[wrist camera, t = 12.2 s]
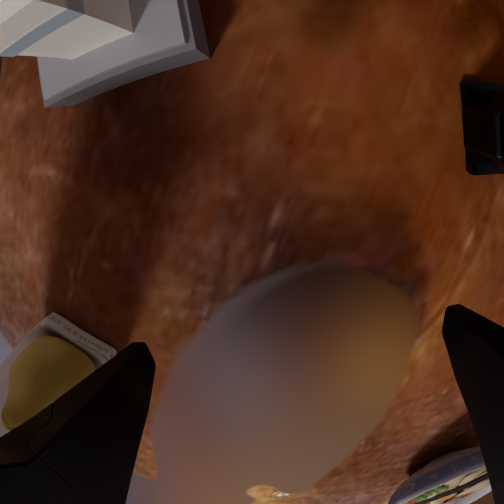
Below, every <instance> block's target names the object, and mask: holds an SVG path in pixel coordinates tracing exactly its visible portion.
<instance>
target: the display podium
mask: <svg viewBox="0 0 504 504" xmlns="http://www.w3.org/2000/svg"><path fill="white" fill-rule="evenodd" d="M129 6H130V13H131V20H132V27H133V33H132V34H130V35H127V36H124V37H122V38H119V39H117V40H115V41H112V42H110V43H107V44H105V45H103V46H100V47H98V48H96V49H94V50H92V51H89V52H87V53H85V54H83V55H81V56H79V57H77V58H75V59H73V60H72V59H62V58H52V57H39V56H37V62H38V70H39V77H40V83H41V90H42V96H43V101H44V107H45V108H49V107H57V106H67V105H76V104H78V103H81V102H83V101H85V100H88V99H90V98H92V97H95V96H97V95H99V94H102V93H104V92H107V91H109V90H112V89H114V88H117V87H120V86H122V85H125V84H128V83H131V82H133V81H136V80H139V79H142V78H145V77H148V76H151V75H154V74H157V73H160V72H164V71H167V70H170V69H174V68H177V67H181V66H184V65H188V64H192V63H195V62H199V61H203V60H207V59H211V58H210V53H209V48H208V43H207V38H206V34H205V29H204V24H203V19H202V14H201V9H200V4H199V0H129Z"/></svg>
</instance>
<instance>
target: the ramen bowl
mask: <svg viewBox="0 0 504 504" xmlns="http://www.w3.org/2000/svg"><path fill="white" fill-rule="evenodd" d="M490 491H492V489H491V485H490V481H489V478H488V474H487V470H486V466H485V463H484V459H483V456H482V453H481V449H480V446H477V447H472V448H467V449H463V450H459V451H452V452H449V453H446V454H444V455H441V456H439V457H437V458H435V459H434V460H432V461H431V462H429V463H428V464H427V465H425V466H424V467H423V468H421V469H420V470H418V471H417V472H415V473H414V474H412V475H411V476H410V477H409V478H408V479H407V480H405V481H404V482H403V483H402V484H401V485H400V486H399V487H398V488H397V489H396V491H395V492H394V494H393V495H392V497H391V499H390V501H389V502H388V504H470V503H472V502H473V501H475V500H477V499H479V498H480V497H482V496H484V495H485V494H487V493H489V492H490Z"/></svg>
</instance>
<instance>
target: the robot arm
mask: <svg viewBox="0 0 504 504" xmlns="http://www.w3.org/2000/svg"><path fill="white" fill-rule="evenodd" d="M466 85H467V86H468V87H469V90H468V91H467V90H466ZM460 91H461V99H462V108H463V110H462V120H463V133H464V146H465V150H466V170H467V172H468V173H469V174H472V175H486V174H504V85H503V84H495V83H486V82H476V81H463V82H461V84H460ZM472 165H474V169H473V170H472ZM442 335H443V339H444V342H445V345H446V348H447V351H448V355H449V358H450V362H451V365H452V369H453V372H454V375H455V378H456V381H457V384H458V386H459V389H460V391H461V394H462V397H463V399H464V402H465V405H466V407H467V410H468V413H469V416H470V419H471V421H472V424H473V427H474V430H475V433H476V436H477V440H478V443H479V446H480V449H481V453H482V456H483V459H484V463H485V466H486V470H487V474H488V478H489V481H490V485H491V489H492V493H493V498H494V503H495V504H504V327H502V326H500V325H498V324H496V323H494V322H492V321H491V320H489V319H487V318H485V317H483V316H481V315H479V314H478V313H476V312H474V311H472V310H470V309H468V308H466V307H464V306H462V305H460V304H456V305H451V306H448V307H447V308H446V311H445V316H444V321H443V327H442ZM155 369H156V365H155V361H154V359H153V357H152V355H151V352H150V350H149V348H148V346H147V345H146V343H144V342H133V343H131V344H130V345H128V346H127V347H126V348H124V349H123V350H122V351H120V352H119V353H118V354H116V355H115V356H114V357H112V358H111V359H110V360H108V361H107V362H106V363H104V364H103V365H102V366H100V367H99V368H98V369H96V370H95V371H94V372H92V373H91V374H90V375H88V376H87V377H86V378H84V379H83V380H82V381H80V382H79V383H78V384H76V385H75V386H74V387H72V388H71V389H70V390H68V391H67V392H66V393H64V394H63V395H62V396H60V397H59V398H58V399H56V400H55V401H54V403H53V402H52V403H51V404H49V405H48V406H47V407H45V408H44V409H43V410H41V411H40V412H39V413H37V414H36V415H34V416H33V417H31V418H30V419H28V420H27V421H25V422H24V423H22V424H21V425H19V426H17V427H16V428H14V429H13V430H11V431H9V432H8V433H6V434H5V435H3V436H1V437H0V504H125V503H126V499H127V494H128V490H129V486H130V481H131V477H132V473H133V469H134V465H135V461H136V457H137V453H138V449H139V445H140V441H141V437H142V433H143V429H144V426H145V422H146V418H147V414H148V410H149V405H150V400H151V393H152V387H153V381H154V375H155Z"/></svg>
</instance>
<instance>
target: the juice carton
mask: <svg viewBox="0 0 504 504" xmlns="http://www.w3.org/2000/svg"><path fill="white" fill-rule="evenodd" d="M116 354H117V351H116V349H114V348H113V347H111V346H109V345H108V344H106V343H104V342H103V341H101V340H99V339H97V338H95V337H94V336H92V335H90V334H88V333H87V332H85V331H83V330H82V329H80V328H79V327H77V326H76V325H74V324H73V323H71V322H70V321H68V320H67V319H65V318H64V317H62V316H60V315H59V314H57V313H55V312H53V313H51V314H50V315H48V316H47V317H46V318H44V319H43V320H42V321H41V322H39V323H38V324H37V325H36V326H35V327H33V328H32V329H31V330H30V331H29V332H28V333H27V334H26V335H25V337H24V338H23V339H22V340H21V341H20V342H19V343H18V345H17V346H16V347H15V348H14V349H13V351H12V352H11V353H10V354H9V355H8V357H7V358H6V359H5V360H4V361H3V363H2V364H1V365H0V437H1V436H3V435H5V434H6V433H8V432H9V431H11V430H13V429H14V428H16V427H17V426H19V425H21V424H22V423H24V422H25V421H27V420H28V419H30V418H31V417H33V416H34V415H36V414H37V413H39V412H40V411H41V410H43V409H44V408H45V407H47V406H48V405H49V404H51V403H52V402H53V403H54V401H55V400H56V399H58V398H59V397H60V396H62V395H63V394H64V393H66V392H67V391H68V390H70V389H71V388H72V387H74V386H75V385H76V384H78V383H79V382H80V381H82V380H83V379H84V378H86V377H87V376H88V375H90V374H91V373H92V372H94V371H95V370H96V369H98V368H99V367H100V366H102V365H103V364H104V363H106V362H107V361H108V360H110V359H111V358H112V357H114V356H115V355H116Z"/></svg>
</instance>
